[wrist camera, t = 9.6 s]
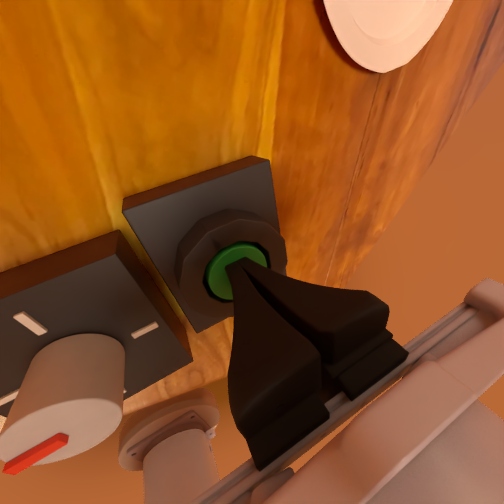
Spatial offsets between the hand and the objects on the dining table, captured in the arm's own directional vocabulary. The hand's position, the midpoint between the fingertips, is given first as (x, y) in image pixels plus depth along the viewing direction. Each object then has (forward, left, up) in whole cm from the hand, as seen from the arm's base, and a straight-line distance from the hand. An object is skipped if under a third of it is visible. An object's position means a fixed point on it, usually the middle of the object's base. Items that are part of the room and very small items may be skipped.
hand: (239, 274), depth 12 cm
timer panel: (-2, +10, -4) cm, 10 cm away
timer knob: (-1, +9, -1) cm, 10 cm away
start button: (0, 0, -2) cm, 2 cm away
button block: (0, 0, -4) cm, 4 cm away
